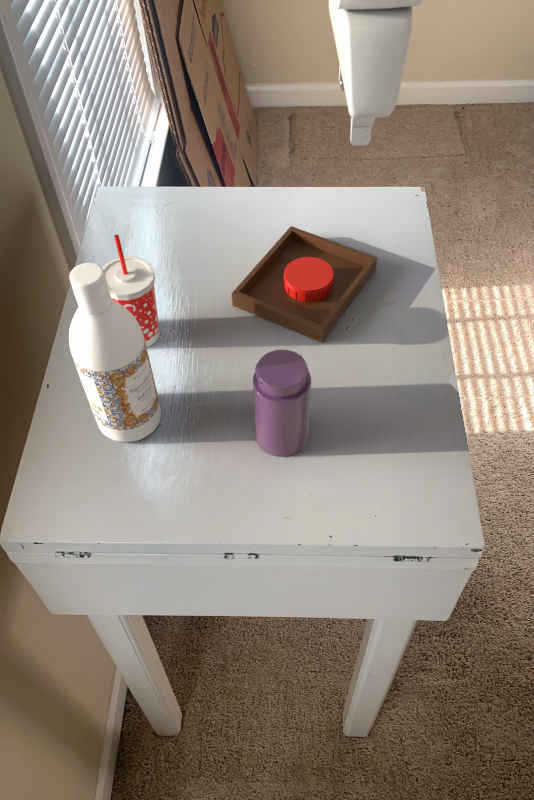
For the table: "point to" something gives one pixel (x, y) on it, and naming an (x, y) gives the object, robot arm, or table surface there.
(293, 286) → the lid
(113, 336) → the bath foam
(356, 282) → the tray
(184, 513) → the table surface
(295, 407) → the jar
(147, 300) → the beverage cup
